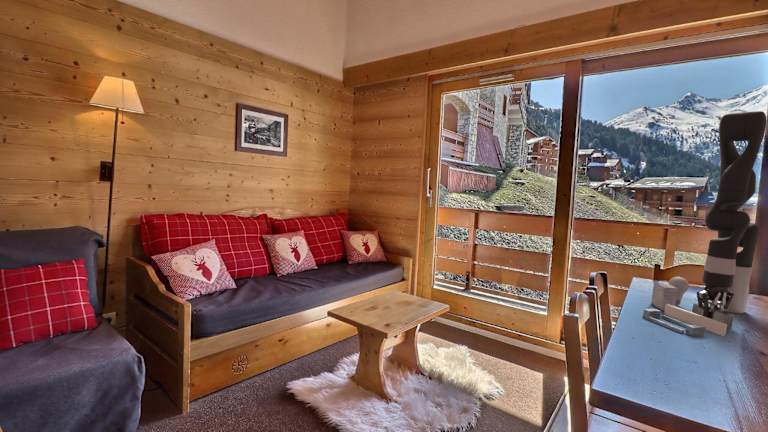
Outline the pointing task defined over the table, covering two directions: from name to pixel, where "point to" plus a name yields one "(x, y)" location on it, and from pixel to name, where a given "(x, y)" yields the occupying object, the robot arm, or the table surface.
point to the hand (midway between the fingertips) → (710, 321)
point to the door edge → (696, 319)
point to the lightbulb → (679, 287)
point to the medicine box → (663, 295)
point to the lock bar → (716, 315)
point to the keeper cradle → (690, 329)
